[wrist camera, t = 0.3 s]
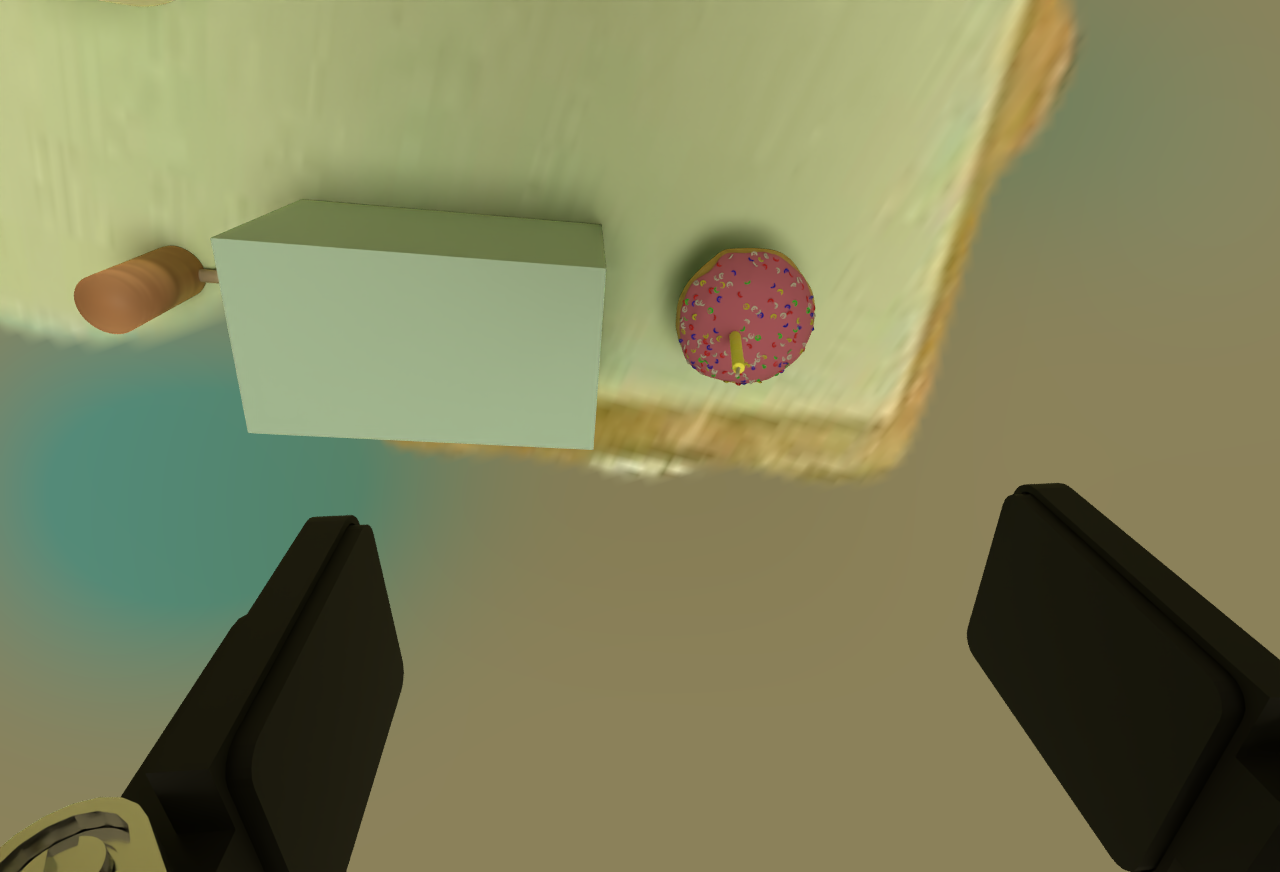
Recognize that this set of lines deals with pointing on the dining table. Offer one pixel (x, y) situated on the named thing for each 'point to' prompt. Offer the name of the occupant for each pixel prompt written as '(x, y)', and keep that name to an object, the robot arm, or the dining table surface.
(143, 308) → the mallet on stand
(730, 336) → the cupcake
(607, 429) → the dining table surface
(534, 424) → the plain rectangular box
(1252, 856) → the robot arm
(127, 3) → the bracket
